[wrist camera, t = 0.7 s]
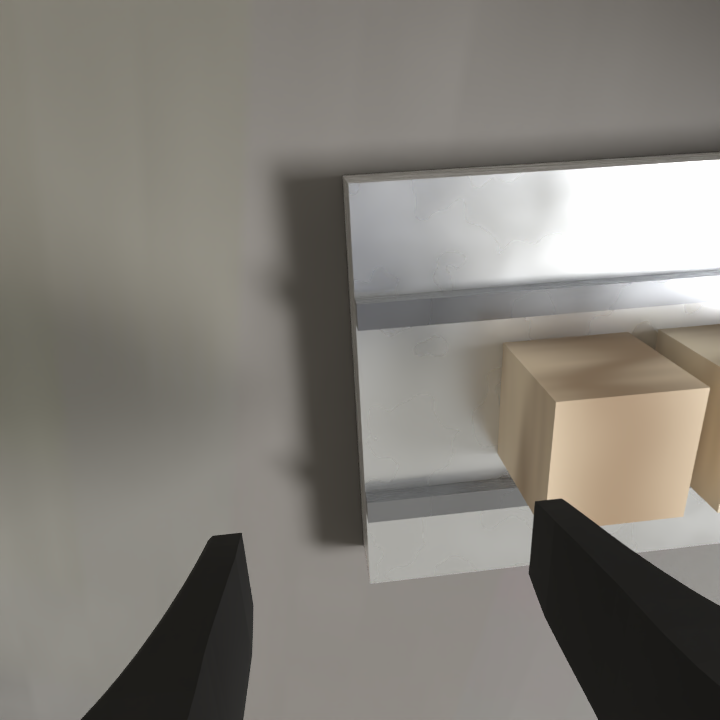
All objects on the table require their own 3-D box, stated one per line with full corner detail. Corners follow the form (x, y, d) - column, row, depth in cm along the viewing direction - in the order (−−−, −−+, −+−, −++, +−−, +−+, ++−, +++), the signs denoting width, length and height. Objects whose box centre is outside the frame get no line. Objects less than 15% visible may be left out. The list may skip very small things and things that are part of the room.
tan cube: (628, 331, 19) (710, 387, 15) (612, 441, 20) (683, 516, 17) (503, 342, 18) (556, 402, 15) (497, 453, 20) (543, 532, 16)
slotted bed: (811, 146, 19) (886, 151, 17) (725, 505, 25) (772, 549, 22) (342, 175, 18) (350, 186, 15) (363, 546, 23) (372, 595, 21)
